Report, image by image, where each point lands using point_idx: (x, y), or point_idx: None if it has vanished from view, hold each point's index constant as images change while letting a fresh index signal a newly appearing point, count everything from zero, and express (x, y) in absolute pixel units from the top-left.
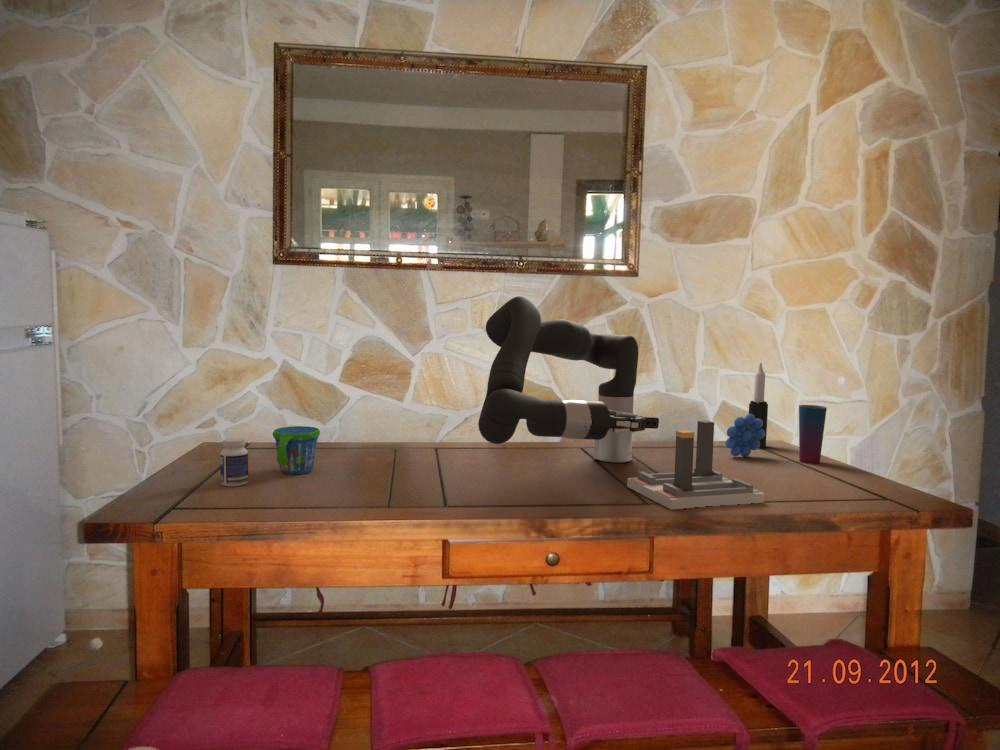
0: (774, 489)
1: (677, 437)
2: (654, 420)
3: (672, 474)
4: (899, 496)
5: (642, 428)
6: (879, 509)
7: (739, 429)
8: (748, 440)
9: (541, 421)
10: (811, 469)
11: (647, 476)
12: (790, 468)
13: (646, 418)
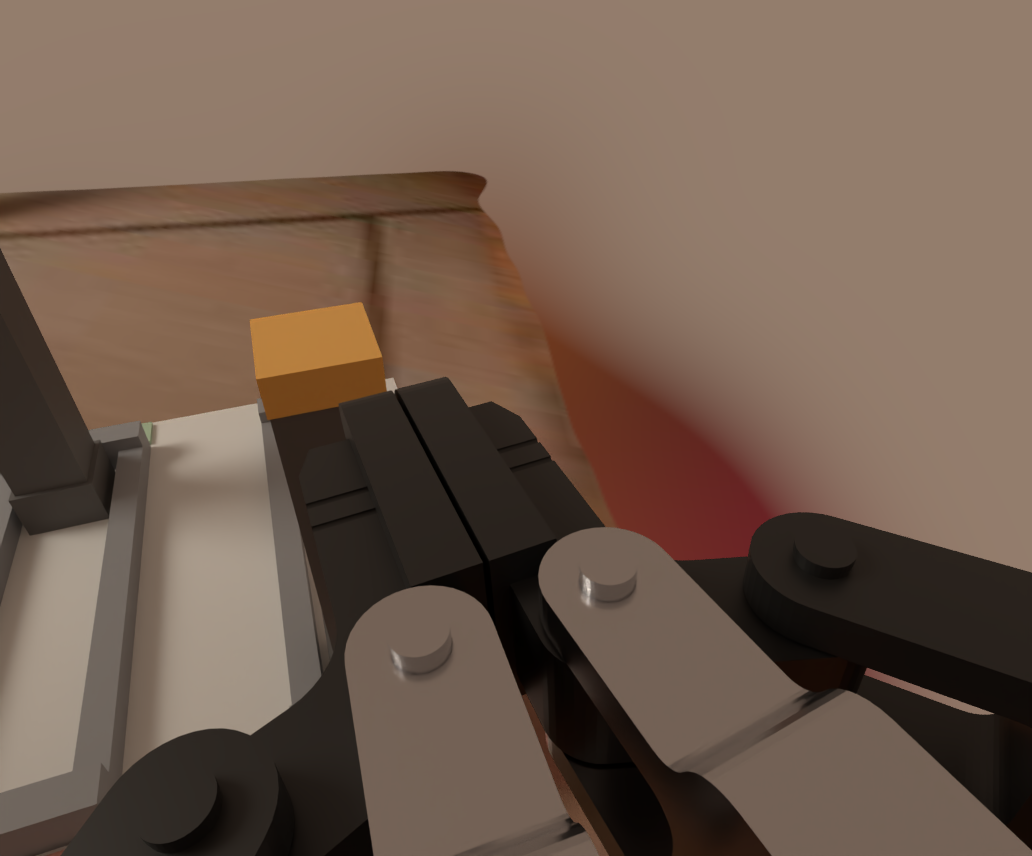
0: (218, 348)
1: (299, 421)
2: (530, 438)
3: None
4: (348, 199)
5: (929, 701)
6: (465, 243)
7: None
8: None
9: None
10: (12, 239)
11: (36, 824)
12: None
13: (526, 508)
